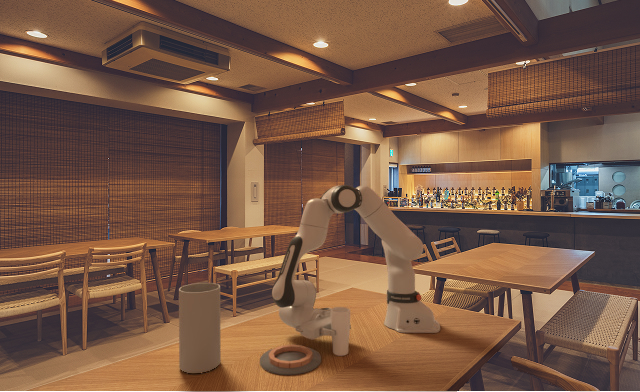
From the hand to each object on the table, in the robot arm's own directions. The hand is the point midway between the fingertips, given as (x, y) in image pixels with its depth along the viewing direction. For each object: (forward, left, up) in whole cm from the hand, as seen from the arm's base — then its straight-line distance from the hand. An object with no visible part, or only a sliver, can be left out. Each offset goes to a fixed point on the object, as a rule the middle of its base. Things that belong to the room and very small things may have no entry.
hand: (342, 330), depth 127 cm
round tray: (+16, +9, -8) cm, 20 cm away
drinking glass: (+1, 0, -8) cm, 8 cm away
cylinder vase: (+43, +19, -8) cm, 47 cm away
